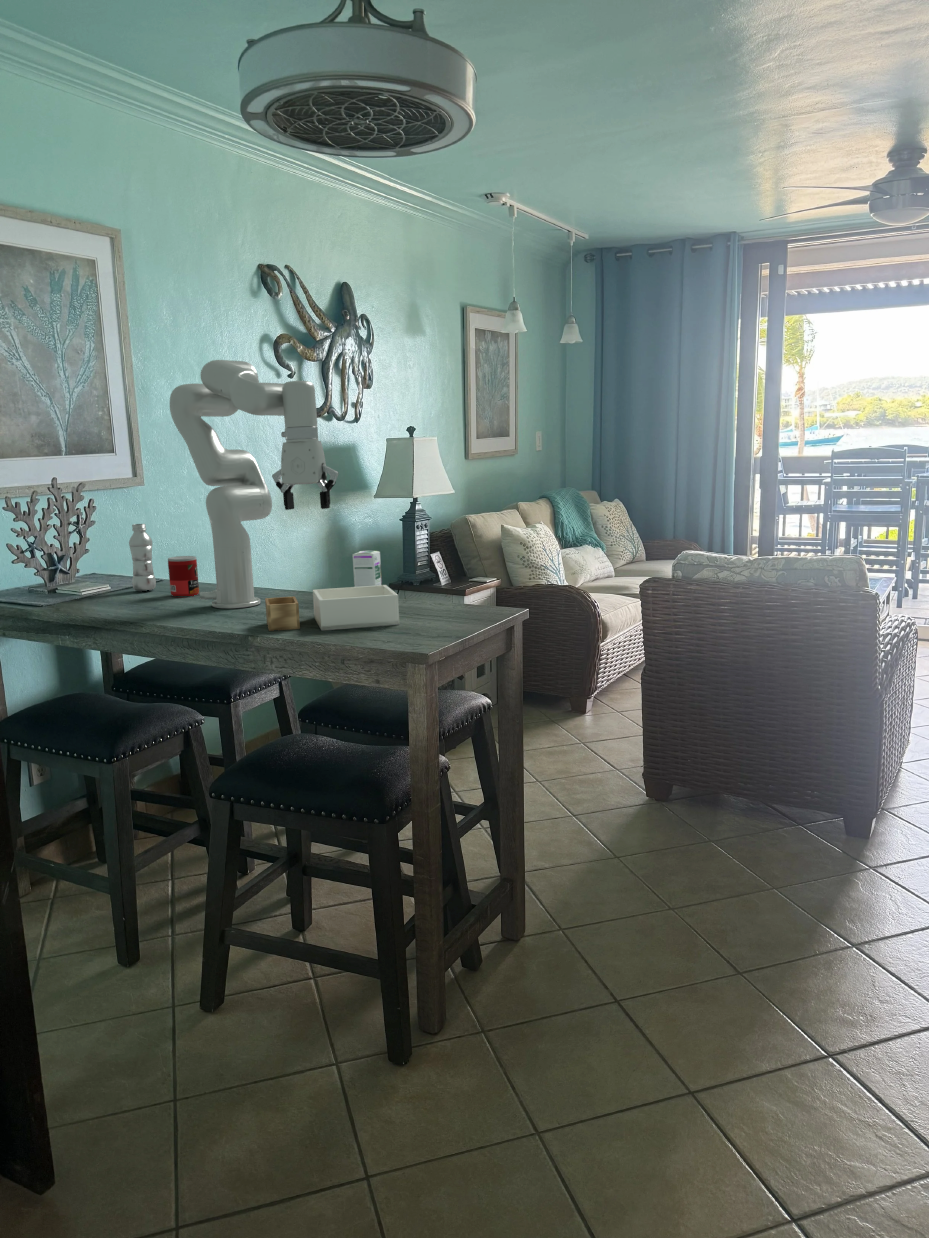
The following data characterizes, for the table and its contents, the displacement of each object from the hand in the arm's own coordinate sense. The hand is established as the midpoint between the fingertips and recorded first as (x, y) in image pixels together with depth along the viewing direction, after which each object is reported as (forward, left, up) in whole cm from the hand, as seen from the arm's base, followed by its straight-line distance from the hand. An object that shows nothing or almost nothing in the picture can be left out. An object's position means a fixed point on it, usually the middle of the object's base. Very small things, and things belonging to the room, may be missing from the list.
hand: (307, 508), depth 210 cm
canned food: (-32, +51, -27) cm, 66 cm away
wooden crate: (-8, -6, -27) cm, 28 cm away
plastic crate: (+9, -7, -27) cm, 29 cm away
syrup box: (+15, +10, -27) cm, 32 cm away
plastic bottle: (-44, +64, -27) cm, 82 cm away
